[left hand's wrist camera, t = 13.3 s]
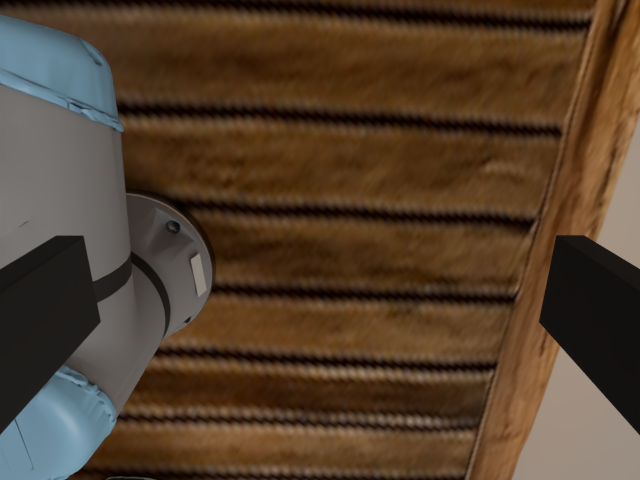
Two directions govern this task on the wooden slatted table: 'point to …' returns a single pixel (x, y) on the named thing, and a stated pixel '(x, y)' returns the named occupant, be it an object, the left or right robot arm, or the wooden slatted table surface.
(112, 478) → the fossil
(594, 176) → the wooden slatted table surface
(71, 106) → the left robot arm
